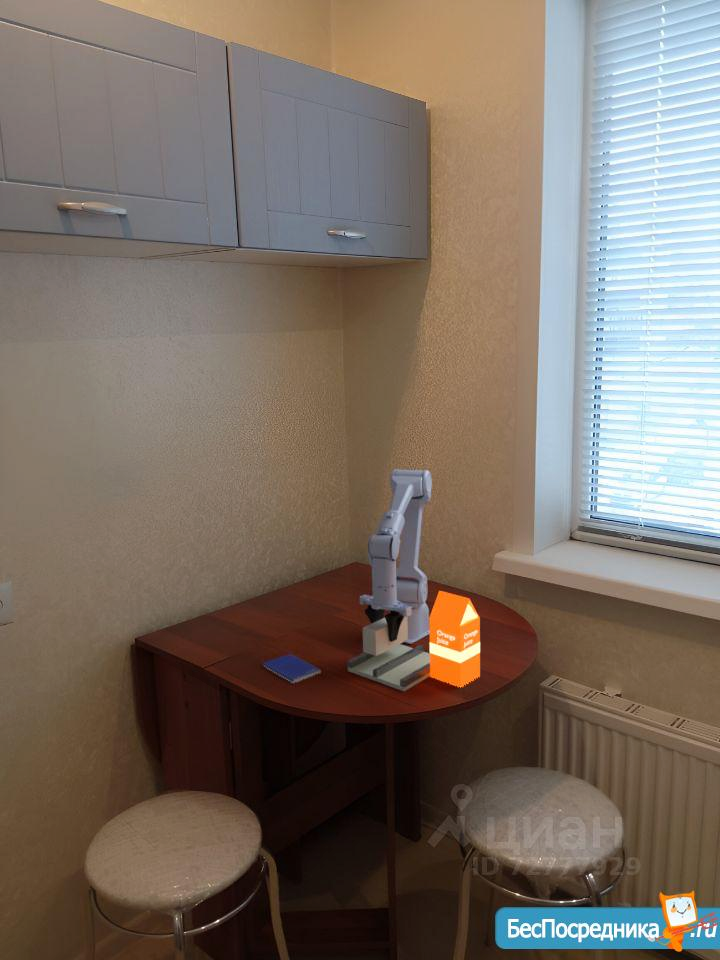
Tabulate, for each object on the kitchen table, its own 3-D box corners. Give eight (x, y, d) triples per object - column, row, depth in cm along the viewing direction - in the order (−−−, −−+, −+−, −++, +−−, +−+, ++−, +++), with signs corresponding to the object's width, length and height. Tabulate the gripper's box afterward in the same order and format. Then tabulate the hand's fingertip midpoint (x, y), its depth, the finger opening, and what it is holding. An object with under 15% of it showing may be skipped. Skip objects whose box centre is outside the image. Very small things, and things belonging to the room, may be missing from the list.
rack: (395, 646, 193) (395, 637, 192) (450, 664, 182) (450, 654, 181) (347, 670, 180) (347, 661, 179) (404, 691, 169) (404, 681, 168)
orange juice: (450, 665, 181) (449, 586, 177) (480, 676, 175) (480, 594, 171) (429, 677, 175) (428, 595, 171) (460, 688, 169) (459, 603, 165)
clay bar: (395, 635, 188) (394, 613, 187) (407, 639, 186) (407, 616, 184) (363, 651, 179) (362, 627, 178) (376, 656, 177) (375, 631, 176)
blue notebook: (320, 668, 179) (290, 653, 189) (292, 679, 174) (263, 663, 183) (321, 675, 180) (291, 659, 189) (292, 686, 174) (263, 669, 184)
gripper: (350, 582, 181) (352, 635, 184) (397, 594, 172) (398, 650, 174) (369, 575, 187) (371, 627, 189) (416, 586, 177) (417, 641, 180)
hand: (385, 637), depth 182 cm, fingers closed on clay bar, 4 cm apart
